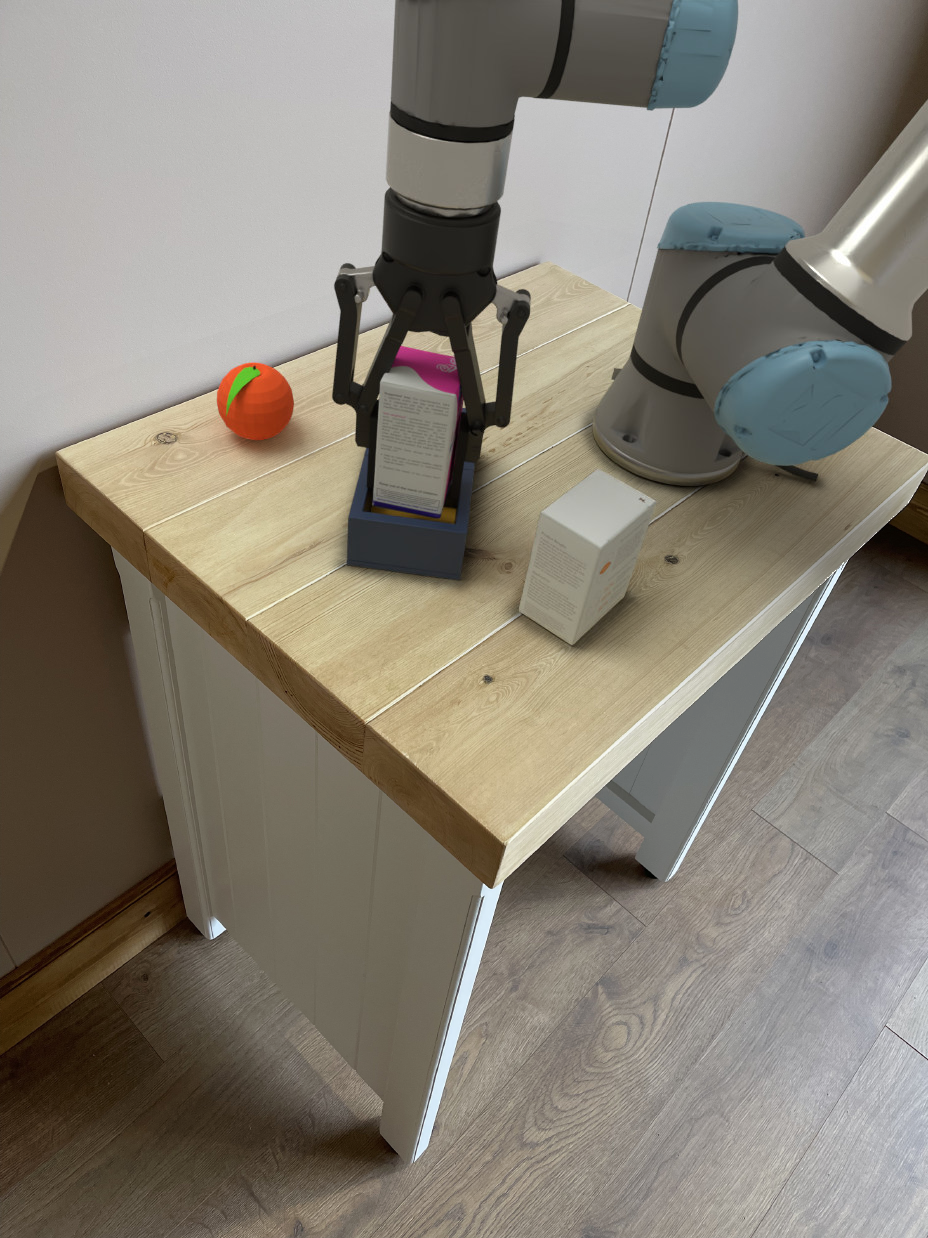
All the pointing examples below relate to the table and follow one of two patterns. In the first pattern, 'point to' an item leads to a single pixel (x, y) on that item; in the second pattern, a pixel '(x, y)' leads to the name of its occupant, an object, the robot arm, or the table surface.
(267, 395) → the clementine
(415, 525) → the holder
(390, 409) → the supplement box
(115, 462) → the table surface
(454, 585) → the table surface
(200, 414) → the table surface
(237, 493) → the table surface
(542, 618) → the small box
